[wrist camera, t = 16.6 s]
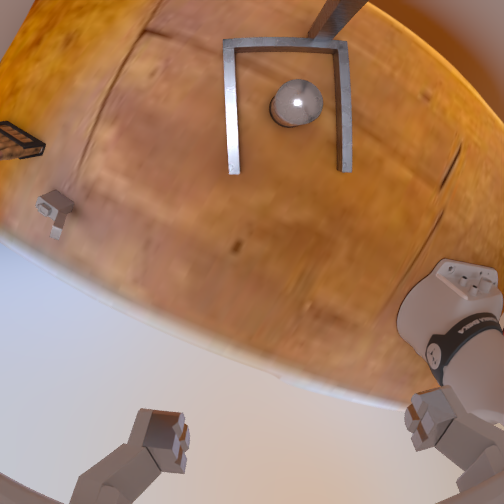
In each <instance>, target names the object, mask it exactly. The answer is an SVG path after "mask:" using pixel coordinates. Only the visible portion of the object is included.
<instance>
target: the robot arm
mask: <svg viewBox="0 0 504 504" xmlns="http://www.w3.org/2000/svg"><path fill="white" fill-rule="evenodd" d="M449 267H450V268H449ZM497 286H498V275H497V271H496V270H495V269H494V268H490V267H485V266H480V265H475V264H470V263H465V262H460V261H455V260H450V259H443V260H441V261H440V262H439V263H438V264H437V266H436V267H435V268H434V270H433V271H432V273H431V274H430V275H429V276H427V277H426V278H425V279H423V280H422V281H421V282H419V283H418V284H417V285H416V286H415V287H414V288H413V289H412V290H411V291H410V293H409V294H408V295H407V297H406V298H405V300H404V301H403V303H402V305H401V308H400V310H399V313H398V318H397V329H398V332H399V334H400V336H401V337H402V339H404V340H405V341H406V342H407V343H409V344H410V345H411V346H412V347H413V348H414V350H415V351H416V353H417V354H418V355H421V357H422V358H423V359H424V360H425V361H426V362H427V363H428V365H429V367H430V370H431V372H432V374H433V375H434V377H435V379H436V380H437V382H438V384H439V385H440V386H441V387H439V388H434V389H430V390H426V391H423V392H419V393H415V394H414V395H413V397H412V399H411V402H412V404H411V405H410V406H409V407H407V409H406V412H405V425H406V427H407V430H409V431H410V432H412V433H413V435H412V437H411V440H412V442H413V445H414V447H415V450H416V451H421V450H424V449H428V448H431V447H434V446H435V448H436V449H437V450H439V451H440V452H441V453H442V454H444V455H445V456H446V457H447V458H449V459H450V460H451V461H452V462H454V463H455V464H456V465H457V466H459V467H460V468H461V469H462V470H464V471H465V472H464V473H463V474H462V475H461V476H460V477H459V478H458V479H457V482H456V483H457V486H458V488H459V491H460V493H459V494H457V495H454V496H452V497H450V498H448V499H445V500H443V501H441V502H438V503H436V504H504V431H503V430H501V429H499V428H498V427H496V426H494V424H497V423H501V424H502V425H503V426H504V328H503V331H502V329H501V327H500V324H499V320H500V316H501V313H502V308H503V295H502V293H501V291H500V290H499V289H498V288H497ZM184 422H185V417H184V414H183V413H179V412H169V411H159V410H151V409H143V408H141V409H140V410H139V411H138V413H137V416H136V419H135V422H134V425H133V428H132V431H131V434H130V437H129V440H128V443H127V444H122V445H121V446H120V447H118V448H117V449H116V450H114V451H113V452H112V453H110V454H109V455H108V456H106V457H105V458H104V459H102V460H101V461H100V462H98V463H97V464H96V465H94V466H93V467H91V468H90V469H89V470H87V471H86V472H85V473H83V474H82V475H81V476H79V478H78V481H77V483H76V486H75V489H74V491H73V495H72V497H71V500H70V503H69V504H132V503H133V502H134V501H135V500H136V499H137V498H138V497H139V496H140V495H141V494H142V493H143V491H145V490H146V488H147V487H148V486H149V485H150V484H151V483H152V482H153V481H154V480H155V479H156V478H157V477H158V476H159V475H160V474H161V472H170V473H180V474H184V473H185V467H186V462H187V458H186V456H185V452H186V451H187V450H188V449H189V443H190V433H189V429H188V426H187V425H186V424H185V423H184ZM0 504H64V503H61V502H59V501H56V500H54V499H52V498H49V497H47V496H45V495H43V494H41V493H38V492H36V491H34V490H32V489H30V488H28V487H26V486H24V485H22V484H20V483H18V482H17V481H15V480H13V479H11V478H9V477H7V476H6V475H4V474H2V473H0Z"/></svg>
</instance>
